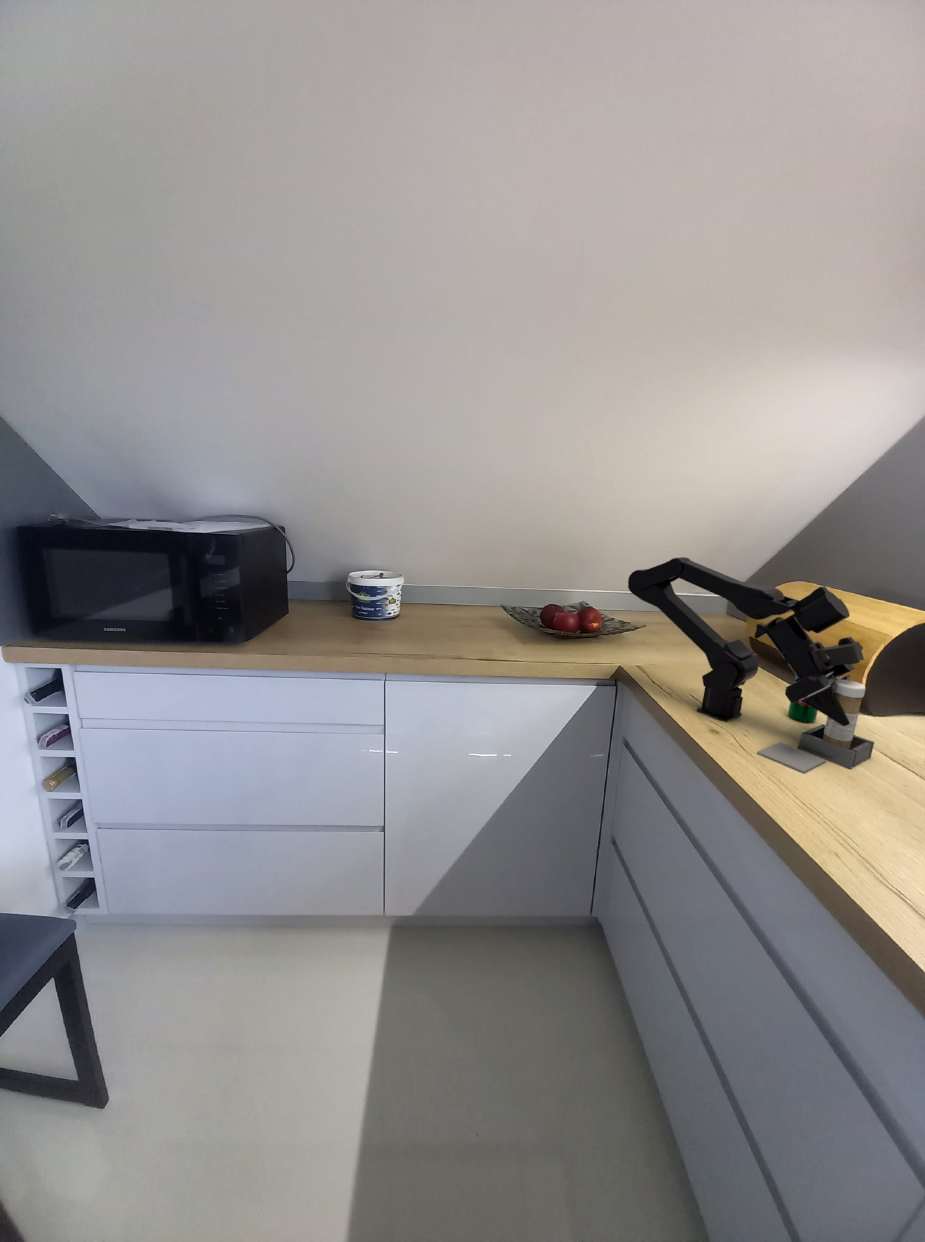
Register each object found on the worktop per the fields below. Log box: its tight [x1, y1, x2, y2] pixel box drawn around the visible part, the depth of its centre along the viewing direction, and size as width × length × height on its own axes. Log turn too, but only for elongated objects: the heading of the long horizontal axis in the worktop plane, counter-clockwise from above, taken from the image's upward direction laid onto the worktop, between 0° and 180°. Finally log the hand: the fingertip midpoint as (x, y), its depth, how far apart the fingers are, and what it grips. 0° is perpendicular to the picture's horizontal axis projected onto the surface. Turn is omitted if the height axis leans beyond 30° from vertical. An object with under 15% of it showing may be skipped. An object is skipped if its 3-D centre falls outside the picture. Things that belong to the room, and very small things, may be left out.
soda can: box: [787, 675, 819, 724], centre depth 116 cm, size 5×5×12 cm
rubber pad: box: [756, 741, 827, 774], centre depth 100 cm, size 8×8×1 cm
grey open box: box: [797, 723, 875, 770], centre depth 102 cm, size 9×9×3 cm
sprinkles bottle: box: [823, 679, 866, 749], centre depth 101 cm, size 5×5×14 cm
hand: (851, 721), depth 100 cm, fingers closed on sprinkles bottle, 4 cm apart
